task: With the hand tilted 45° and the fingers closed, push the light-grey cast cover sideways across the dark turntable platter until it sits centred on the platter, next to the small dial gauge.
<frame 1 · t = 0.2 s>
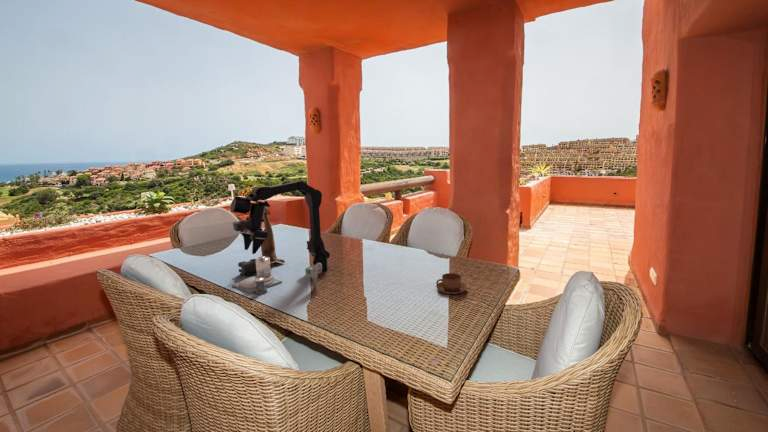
hand: (249, 251, 147), 16 cm above the table, tool tilted 15°, fingers open, 9 cm apart
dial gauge: (260, 292, 143), on the table
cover: (264, 279, 154), point 2 cm above the table, touching turntable
turntable: (257, 284, 152), on the table
cup and saucer: (451, 291, 139), on the table
mechanical component: (315, 289, 145), on the table
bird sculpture: (269, 265, 181), on the table
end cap: (251, 274, 167), on the table
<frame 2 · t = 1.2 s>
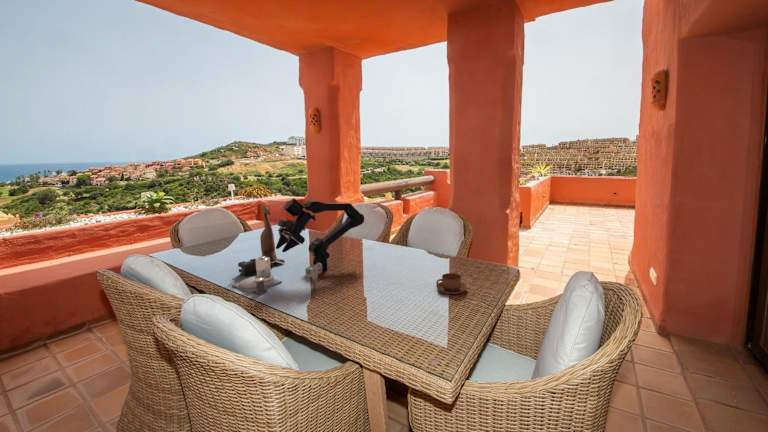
hand: (279, 250, 157), 13 cm above the table, tool tilted 45°, fingers open, 8 cm apart
nothing on the table moved.
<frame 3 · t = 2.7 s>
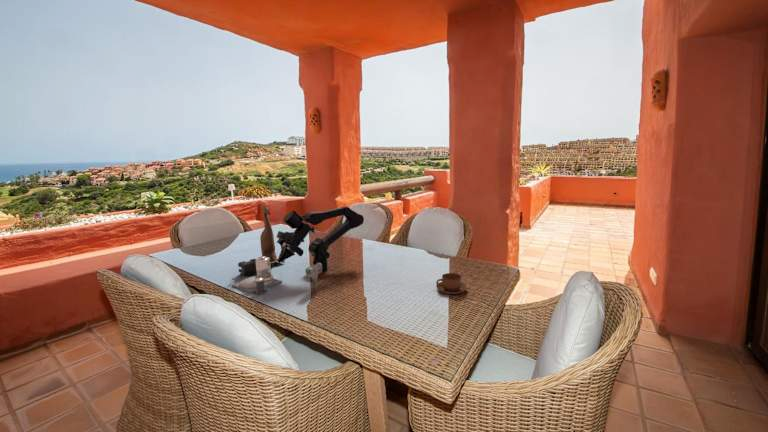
hand: (278, 262, 157), 8 cm above the table, tool tilted 45°, fingers closed
nothing on the table moved.
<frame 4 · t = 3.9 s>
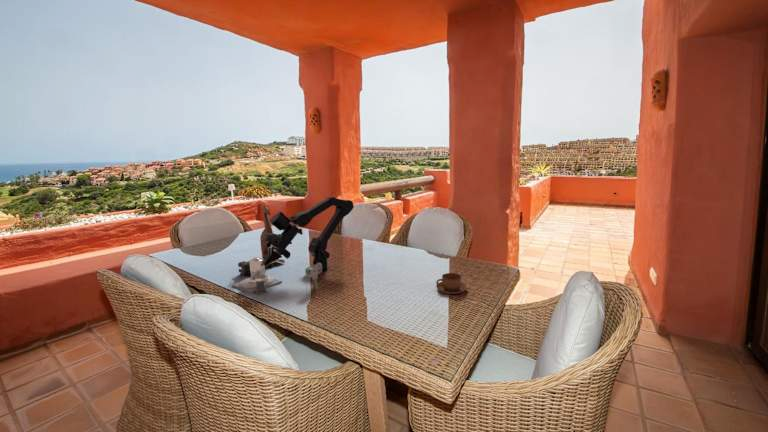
hand: (264, 264, 153), 8 cm above the table, tool tilted 45°, fingers closed
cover: (258, 280, 152), point 2 cm above the table, touching turntable
everything else where it was.
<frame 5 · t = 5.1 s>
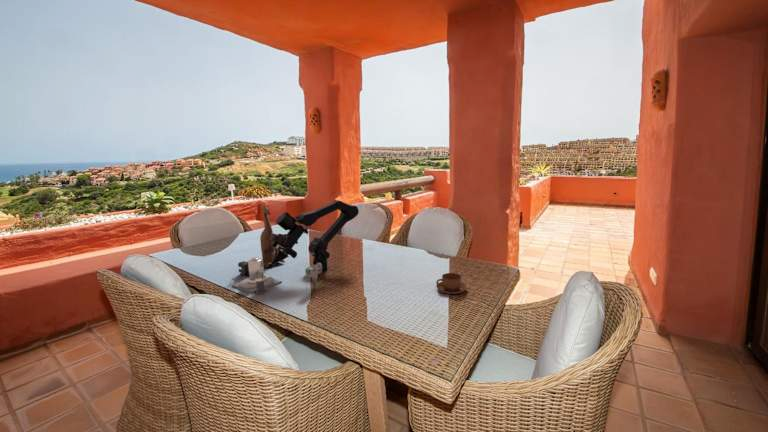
hand: (271, 264, 155), 8 cm above the table, tool tilted 45°, fingers closed
nothing on the table moved.
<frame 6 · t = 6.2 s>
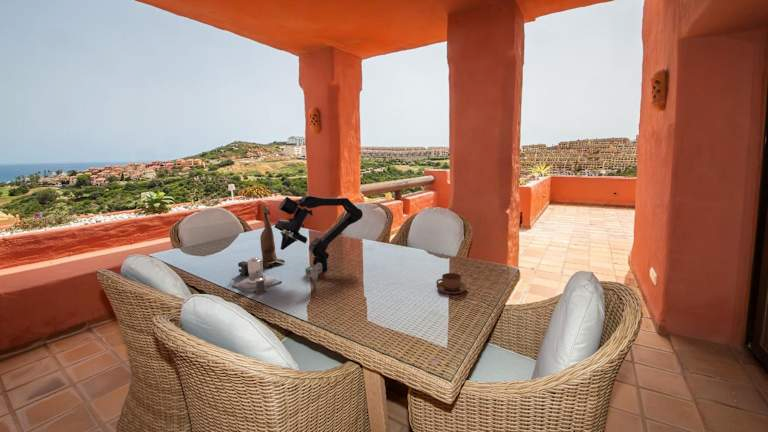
hand: (281, 249, 159), 13 cm above the table, tool tilted 35°, fingers closed
nothing on the table moved.
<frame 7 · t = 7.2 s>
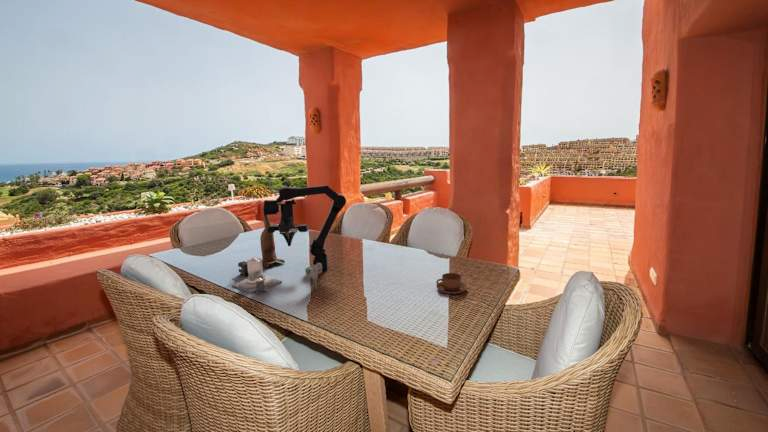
hand: (289, 246, 166), 13 cm above the table, tool pointing down, fingers closed
nothing on the table moved.
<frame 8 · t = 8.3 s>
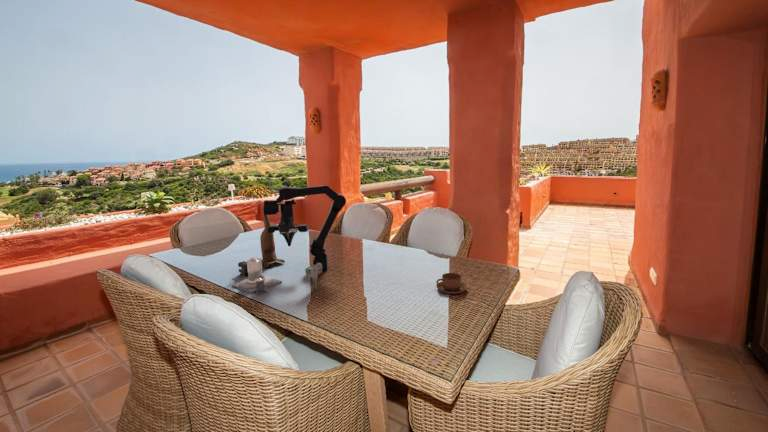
hand: (289, 246, 166), 13 cm above the table, tool pointing down, fingers closed
at the end: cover 0.3 cm off-centre on the turntable, point 1.6 cm above the turntable's base; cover tilted 0° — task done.
